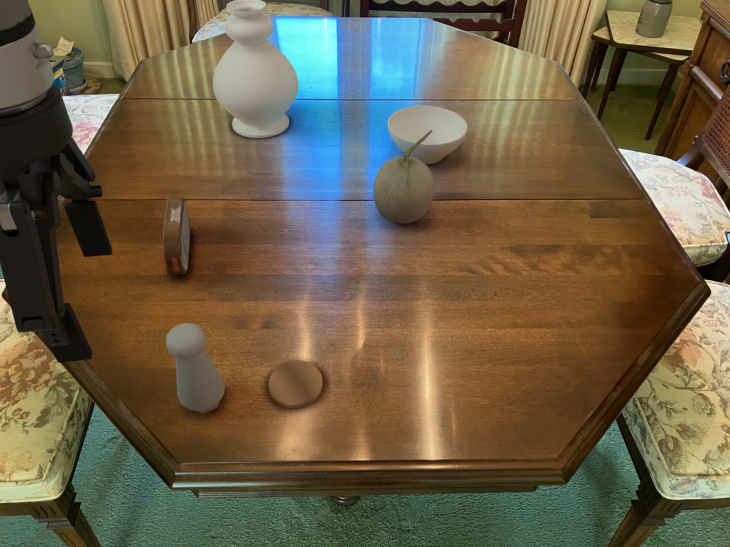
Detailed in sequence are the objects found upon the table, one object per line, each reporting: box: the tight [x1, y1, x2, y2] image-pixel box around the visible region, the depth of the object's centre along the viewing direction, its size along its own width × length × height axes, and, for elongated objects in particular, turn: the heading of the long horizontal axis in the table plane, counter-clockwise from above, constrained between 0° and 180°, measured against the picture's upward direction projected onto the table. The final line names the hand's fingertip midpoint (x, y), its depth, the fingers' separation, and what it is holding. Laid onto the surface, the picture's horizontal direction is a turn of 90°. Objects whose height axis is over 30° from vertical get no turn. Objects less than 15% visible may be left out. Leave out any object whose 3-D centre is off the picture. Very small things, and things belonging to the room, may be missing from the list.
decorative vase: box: [212, 0, 299, 139], centre depth 114 cm, size 18×18×25 cm
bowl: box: [387, 105, 469, 165], centre depth 112 cm, size 16×16×7 cm
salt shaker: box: [165, 322, 226, 415], centre depth 66 cm, size 6×6×13 cm
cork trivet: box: [268, 360, 324, 409], centre depth 72 cm, size 7×7×1 cm
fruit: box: [372, 130, 435, 225], centre depth 94 cm, size 10×12×15 cm
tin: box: [162, 196, 191, 277], centre depth 88 cm, size 15×3×8 cm, turn 10°
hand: (88, 301), depth 53 cm, fingers open, 13 cm apart
